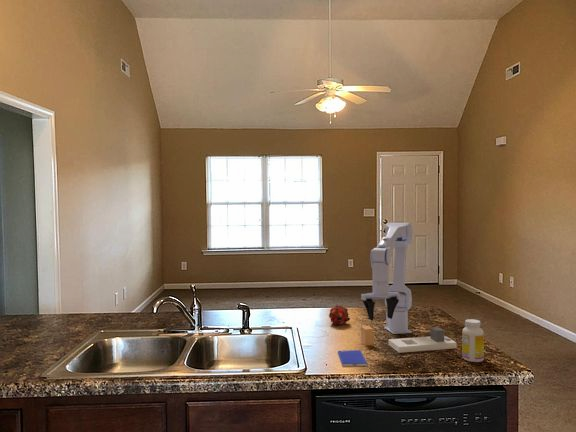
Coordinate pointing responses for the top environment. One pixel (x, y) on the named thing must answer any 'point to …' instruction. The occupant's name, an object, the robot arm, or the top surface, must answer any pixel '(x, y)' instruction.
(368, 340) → the orange rectangular block
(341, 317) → the dragon fruit
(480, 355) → the supplement bottle
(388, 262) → the robot arm
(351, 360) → the hard drive
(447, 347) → the white insertion base
